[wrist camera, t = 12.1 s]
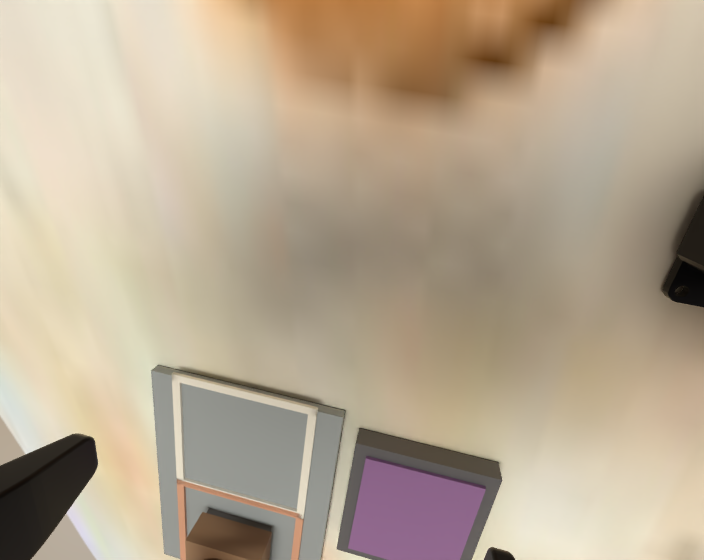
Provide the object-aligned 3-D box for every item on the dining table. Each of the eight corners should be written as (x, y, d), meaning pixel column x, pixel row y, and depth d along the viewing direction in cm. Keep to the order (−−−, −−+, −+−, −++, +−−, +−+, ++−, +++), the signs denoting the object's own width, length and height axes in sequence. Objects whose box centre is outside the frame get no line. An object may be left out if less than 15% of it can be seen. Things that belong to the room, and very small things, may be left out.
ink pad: (498, 462, 21) (502, 483, 20) (459, 565, 25) (461, 588, 23) (359, 428, 22) (355, 445, 21) (340, 531, 26) (335, 552, 24)
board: (345, 406, 22) (343, 415, 21) (315, 593, 28) (312, 605, 28) (157, 361, 23) (148, 368, 23) (169, 548, 30) (162, 559, 29)
